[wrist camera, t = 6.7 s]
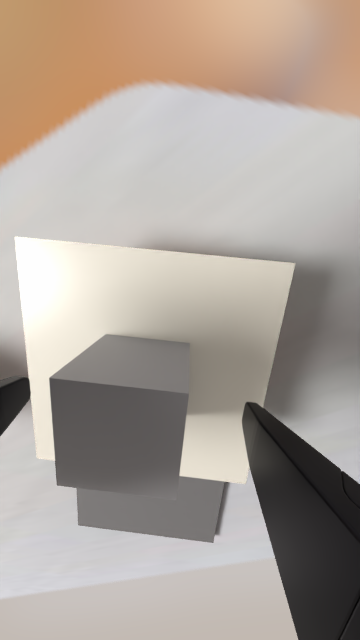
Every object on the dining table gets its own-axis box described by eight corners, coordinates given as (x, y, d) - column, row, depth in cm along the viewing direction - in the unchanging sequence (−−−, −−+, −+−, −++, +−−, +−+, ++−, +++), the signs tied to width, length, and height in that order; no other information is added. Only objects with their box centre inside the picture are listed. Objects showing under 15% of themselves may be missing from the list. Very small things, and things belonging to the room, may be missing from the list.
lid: (286, 263, 9) (384, 258, 5) (242, 470, 12) (273, 594, 8) (29, 239, 10) (-125, 211, 5) (46, 446, 13) (-39, 551, 8)
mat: (233, 422, 17) (234, 428, 16) (212, 534, 20) (213, 542, 19) (77, 404, 17) (73, 409, 16) (81, 517, 20) (78, 525, 20)
